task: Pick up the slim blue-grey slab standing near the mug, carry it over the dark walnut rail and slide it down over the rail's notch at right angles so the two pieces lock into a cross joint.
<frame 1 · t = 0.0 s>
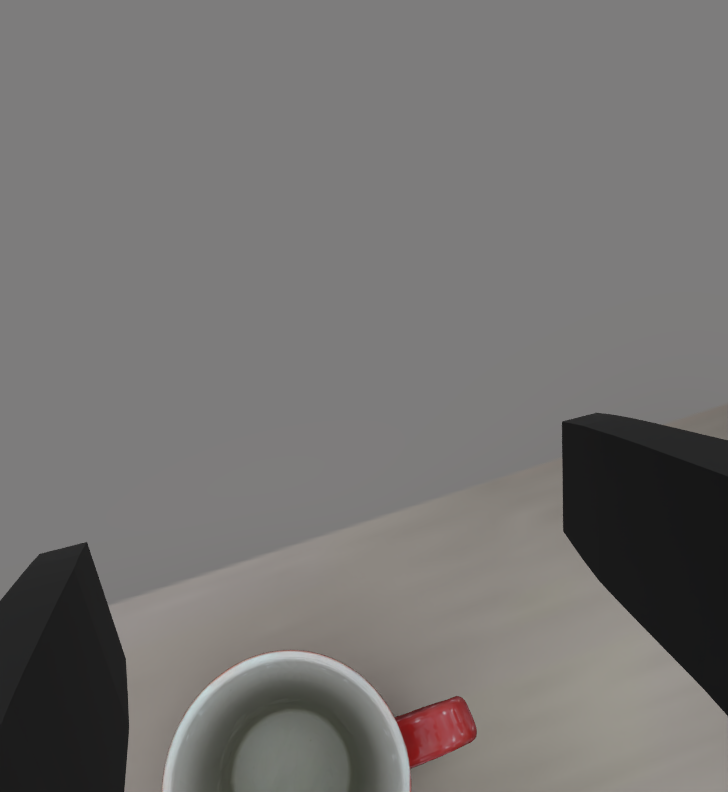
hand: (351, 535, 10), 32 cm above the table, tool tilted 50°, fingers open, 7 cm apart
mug: (322, 765, 38), on the table
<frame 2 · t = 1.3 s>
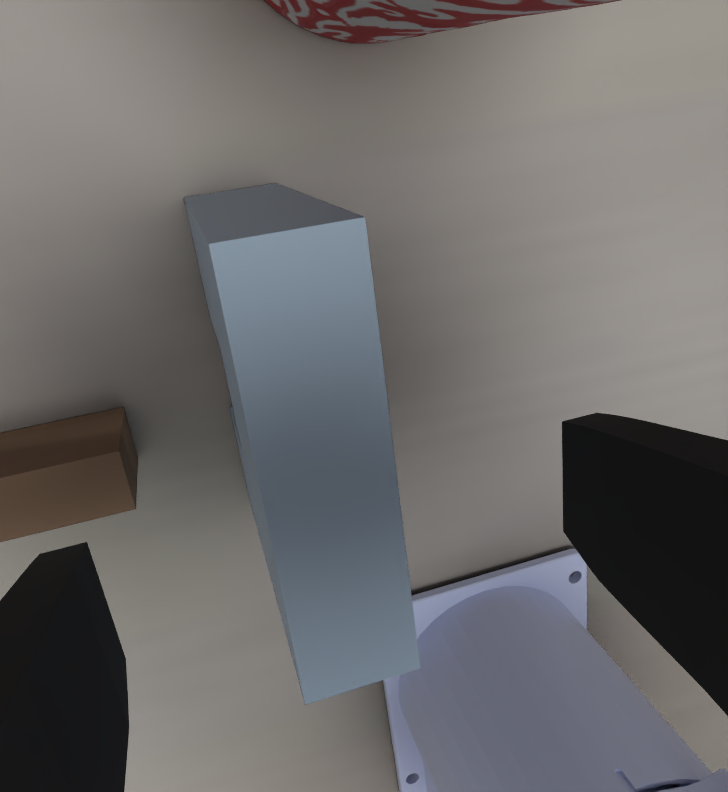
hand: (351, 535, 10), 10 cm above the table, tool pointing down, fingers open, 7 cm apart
slim blue-grey slab: (261, 353, 20), on the table
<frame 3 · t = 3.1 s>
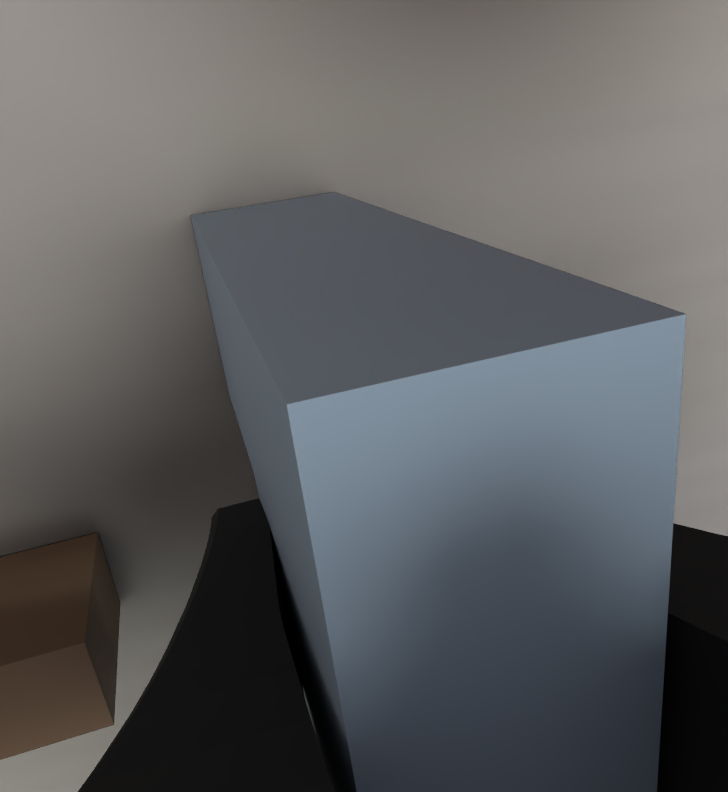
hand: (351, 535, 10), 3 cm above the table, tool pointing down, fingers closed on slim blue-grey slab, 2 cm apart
slim blue-grey slab: (306, 446, 13), on the table, touching gripper
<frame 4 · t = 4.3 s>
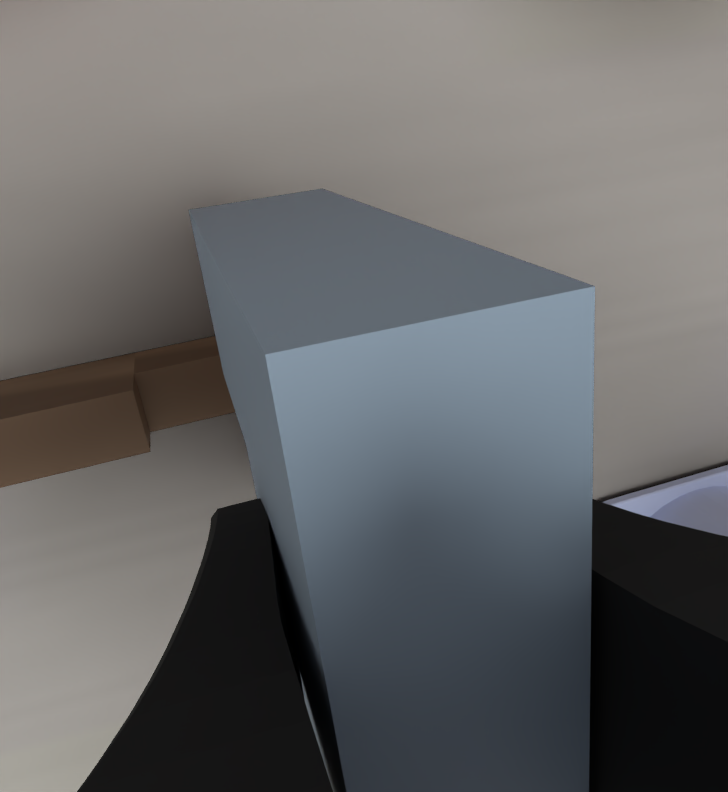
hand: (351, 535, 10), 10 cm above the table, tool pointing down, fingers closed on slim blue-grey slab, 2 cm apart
slim blue-grey slab: (296, 426, 14), point 6 cm above the table, touching gripper
rail: (205, 366, 19), on the table
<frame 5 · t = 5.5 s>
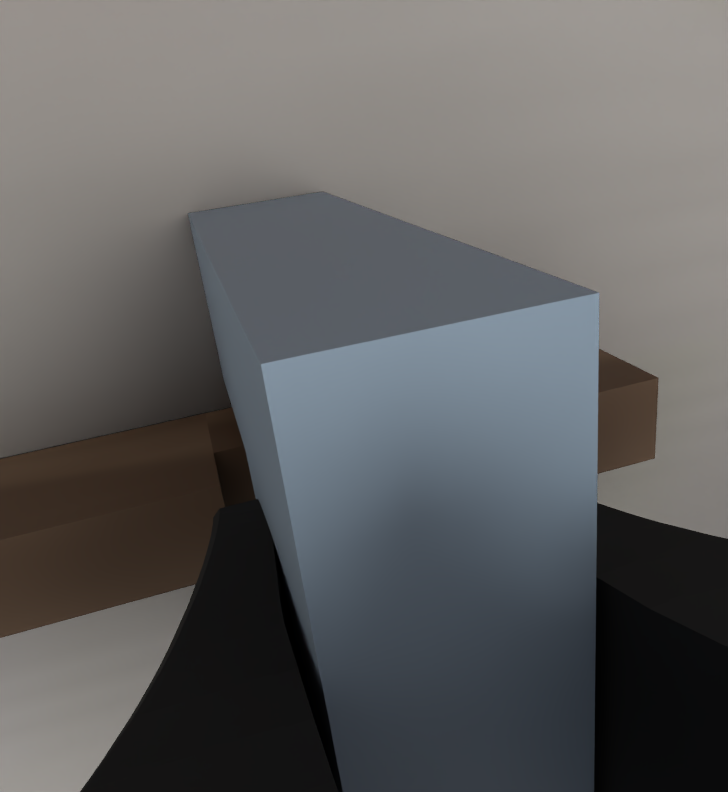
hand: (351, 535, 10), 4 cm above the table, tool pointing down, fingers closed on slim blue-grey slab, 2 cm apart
slim blue-grey slab: (297, 431, 14), on the table, touching gripper
rail: (298, 430, 14), on the table
when the fingers open (4 cm above the table, at t = 5.6 s): slim blue-grey slab stays where it is, on the table.
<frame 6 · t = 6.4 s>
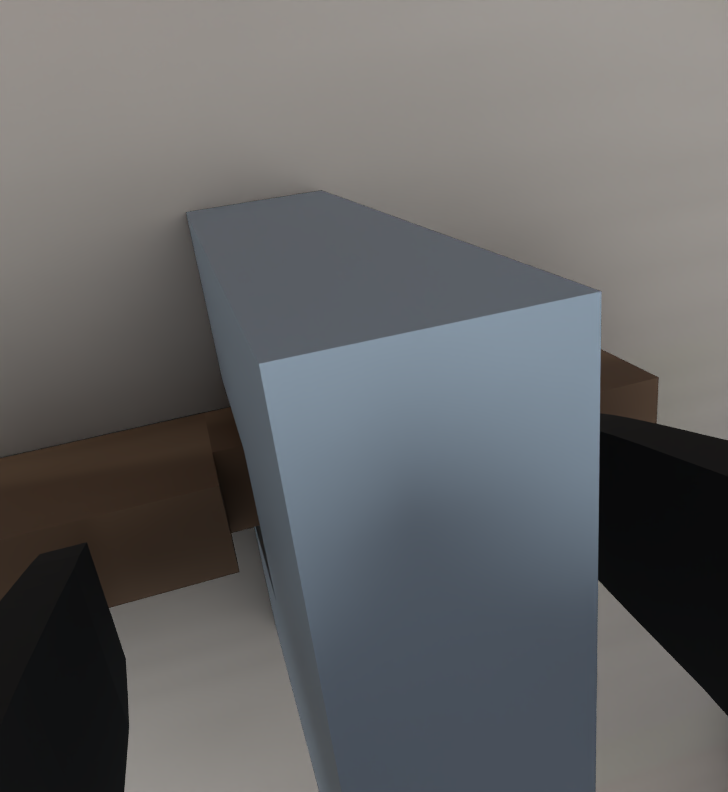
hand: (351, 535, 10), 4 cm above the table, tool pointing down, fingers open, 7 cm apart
slim blue-grey slab: (296, 431, 14), on the table
rail: (298, 430, 14), on the table
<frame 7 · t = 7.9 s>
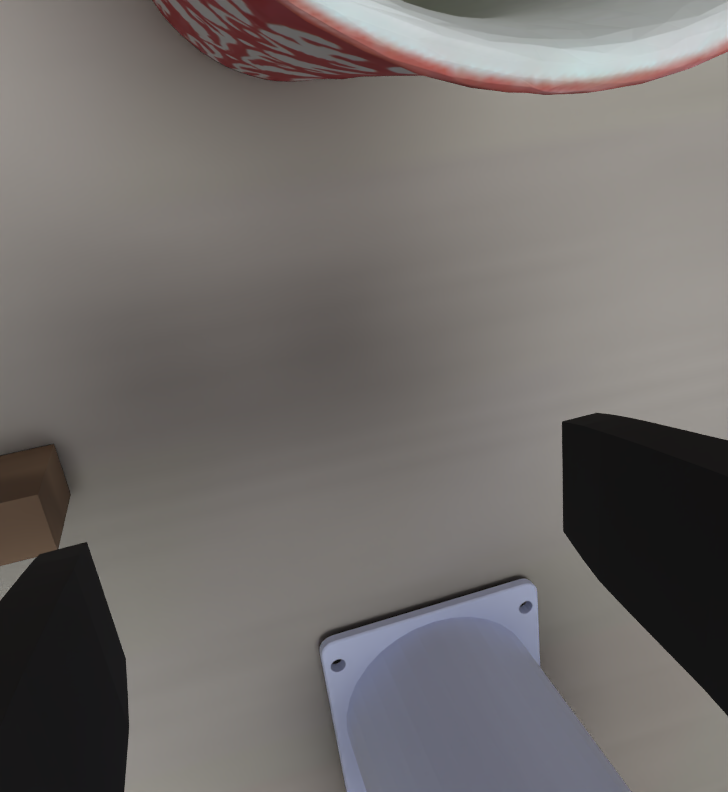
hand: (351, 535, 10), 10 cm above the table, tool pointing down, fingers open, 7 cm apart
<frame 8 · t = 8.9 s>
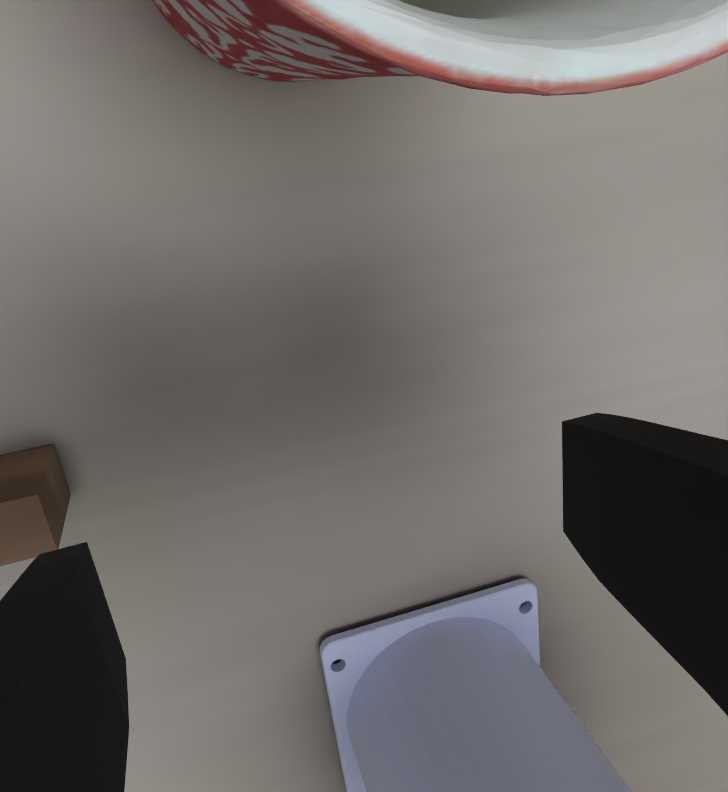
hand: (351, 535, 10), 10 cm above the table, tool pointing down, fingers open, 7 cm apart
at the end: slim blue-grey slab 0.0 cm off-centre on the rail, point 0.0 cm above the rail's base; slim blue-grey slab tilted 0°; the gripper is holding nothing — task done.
